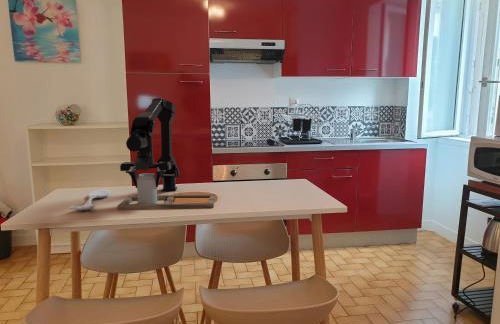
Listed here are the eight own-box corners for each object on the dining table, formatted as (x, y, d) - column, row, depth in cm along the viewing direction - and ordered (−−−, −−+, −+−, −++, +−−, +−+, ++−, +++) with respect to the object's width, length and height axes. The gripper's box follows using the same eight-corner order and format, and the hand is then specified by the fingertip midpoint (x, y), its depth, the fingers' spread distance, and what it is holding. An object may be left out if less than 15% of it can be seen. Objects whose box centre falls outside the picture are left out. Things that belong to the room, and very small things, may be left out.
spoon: (68, 215, 140) (68, 206, 140) (91, 195, 172) (91, 187, 171) (94, 214, 142) (94, 204, 141) (113, 194, 173) (112, 186, 172)
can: (159, 201, 158) (158, 172, 156) (153, 206, 151) (152, 176, 149) (142, 201, 159) (140, 172, 157) (135, 206, 151) (133, 175, 150)
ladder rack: (129, 199, 162) (128, 195, 162) (215, 197, 164) (215, 194, 163) (117, 209, 147) (117, 205, 146) (213, 207, 148) (213, 204, 148)
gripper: (114, 151, 143) (117, 192, 146) (165, 150, 144) (167, 191, 146) (123, 147, 154) (125, 186, 157) (170, 147, 155) (172, 185, 157)
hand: (147, 187), depth 154 cm, fingers open, 8 cm apart
